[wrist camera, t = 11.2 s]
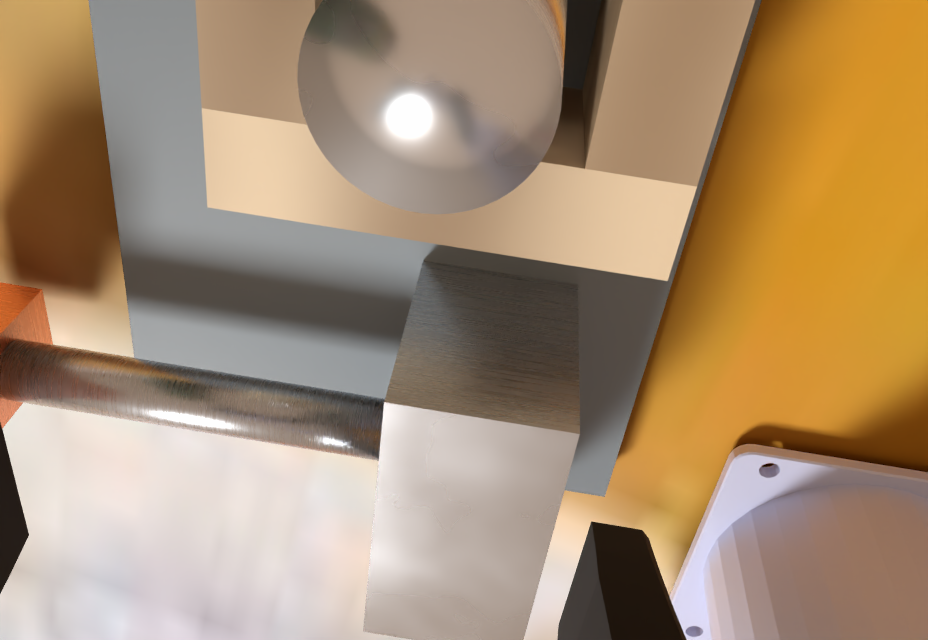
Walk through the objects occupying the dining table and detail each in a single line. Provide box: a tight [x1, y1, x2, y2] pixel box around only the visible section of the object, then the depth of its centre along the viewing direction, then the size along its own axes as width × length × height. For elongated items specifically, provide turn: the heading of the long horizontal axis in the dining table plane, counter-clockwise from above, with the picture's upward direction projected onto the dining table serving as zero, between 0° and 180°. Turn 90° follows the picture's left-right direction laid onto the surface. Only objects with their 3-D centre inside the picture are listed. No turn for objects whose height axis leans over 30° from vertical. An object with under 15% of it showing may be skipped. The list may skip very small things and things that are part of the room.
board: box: [89, 0, 761, 497], centre depth 18 cm, size 12×18×1 cm
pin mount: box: [363, 260, 580, 640], centre depth 19 cm, size 4×7×5 cm, turn 173°
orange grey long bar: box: [0, 283, 385, 461], centre depth 19 cm, size 13×2×4 cm, turn 83°
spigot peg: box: [297, 0, 567, 214], centre depth 12 cm, size 3×3×7 cm
